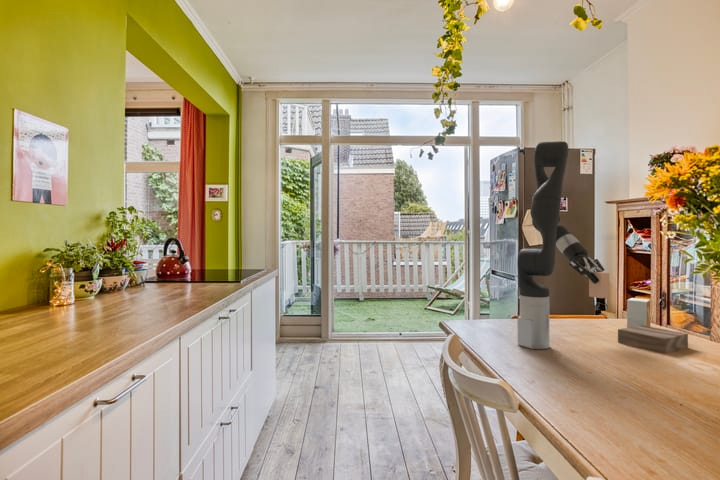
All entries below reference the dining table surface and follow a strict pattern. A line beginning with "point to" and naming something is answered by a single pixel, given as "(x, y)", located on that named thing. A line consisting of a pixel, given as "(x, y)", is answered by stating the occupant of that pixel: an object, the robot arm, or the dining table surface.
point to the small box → (638, 312)
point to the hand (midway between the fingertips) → (601, 281)
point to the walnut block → (653, 338)
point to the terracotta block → (600, 286)
